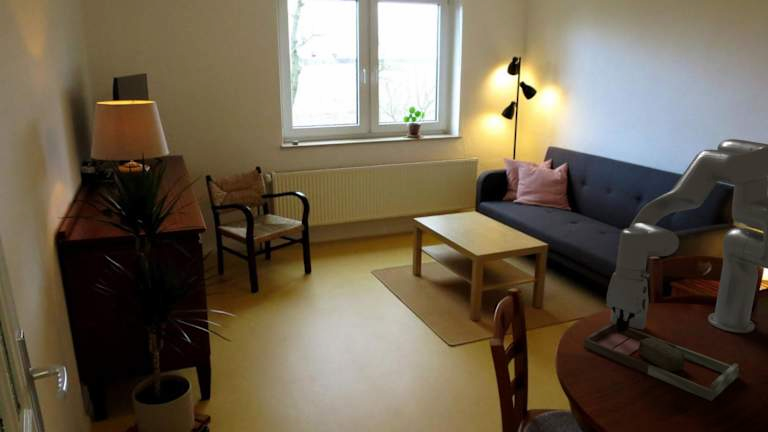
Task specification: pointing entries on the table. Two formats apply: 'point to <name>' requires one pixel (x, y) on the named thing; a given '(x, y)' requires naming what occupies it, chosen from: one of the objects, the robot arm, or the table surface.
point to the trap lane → (631, 345)
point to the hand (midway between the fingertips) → (621, 330)
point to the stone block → (661, 354)
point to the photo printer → (633, 319)
